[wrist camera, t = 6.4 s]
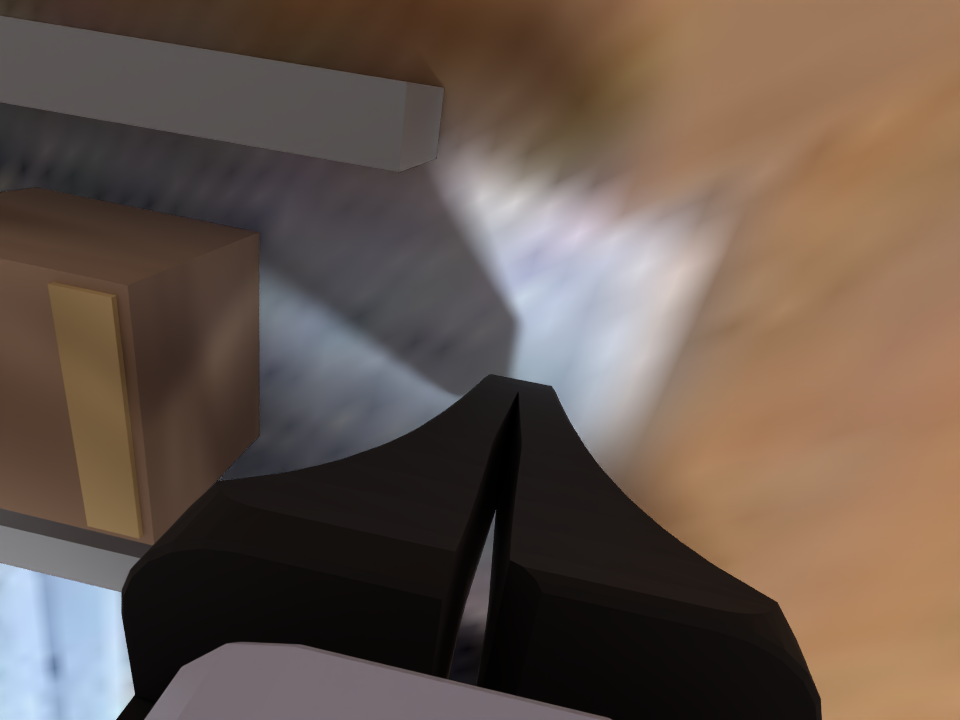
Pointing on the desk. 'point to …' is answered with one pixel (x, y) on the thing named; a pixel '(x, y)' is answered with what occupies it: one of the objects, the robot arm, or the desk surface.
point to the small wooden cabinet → (122, 360)
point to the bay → (207, 114)
